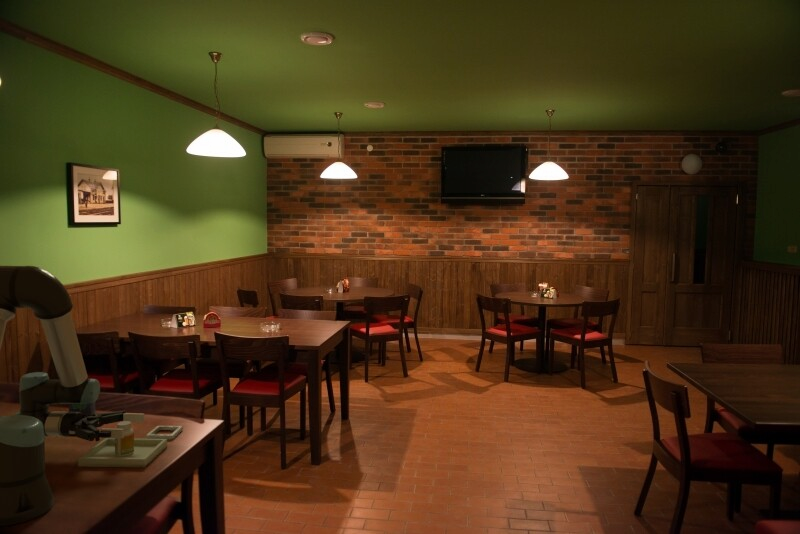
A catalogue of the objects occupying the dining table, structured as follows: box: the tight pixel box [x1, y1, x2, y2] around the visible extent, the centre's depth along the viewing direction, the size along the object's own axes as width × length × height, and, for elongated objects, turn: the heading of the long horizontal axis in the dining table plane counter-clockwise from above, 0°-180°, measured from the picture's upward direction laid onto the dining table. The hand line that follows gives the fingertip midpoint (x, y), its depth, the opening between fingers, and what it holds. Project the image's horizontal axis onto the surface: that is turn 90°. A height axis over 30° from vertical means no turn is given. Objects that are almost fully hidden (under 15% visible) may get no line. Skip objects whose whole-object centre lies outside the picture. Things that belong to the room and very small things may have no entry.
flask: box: [68, 401, 96, 417], centre depth 208 cm, size 10×3×12 cm, turn 88°
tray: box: [77, 437, 168, 468], centre depth 172 cm, size 16×20×2 cm
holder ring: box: [145, 425, 184, 441], centre depth 190 cm, size 9×9×2 cm
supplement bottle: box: [115, 421, 135, 456], centre depth 172 cm, size 5×5×10 cm
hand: (134, 425), depth 172 cm, fingers open, 13 cm apart
